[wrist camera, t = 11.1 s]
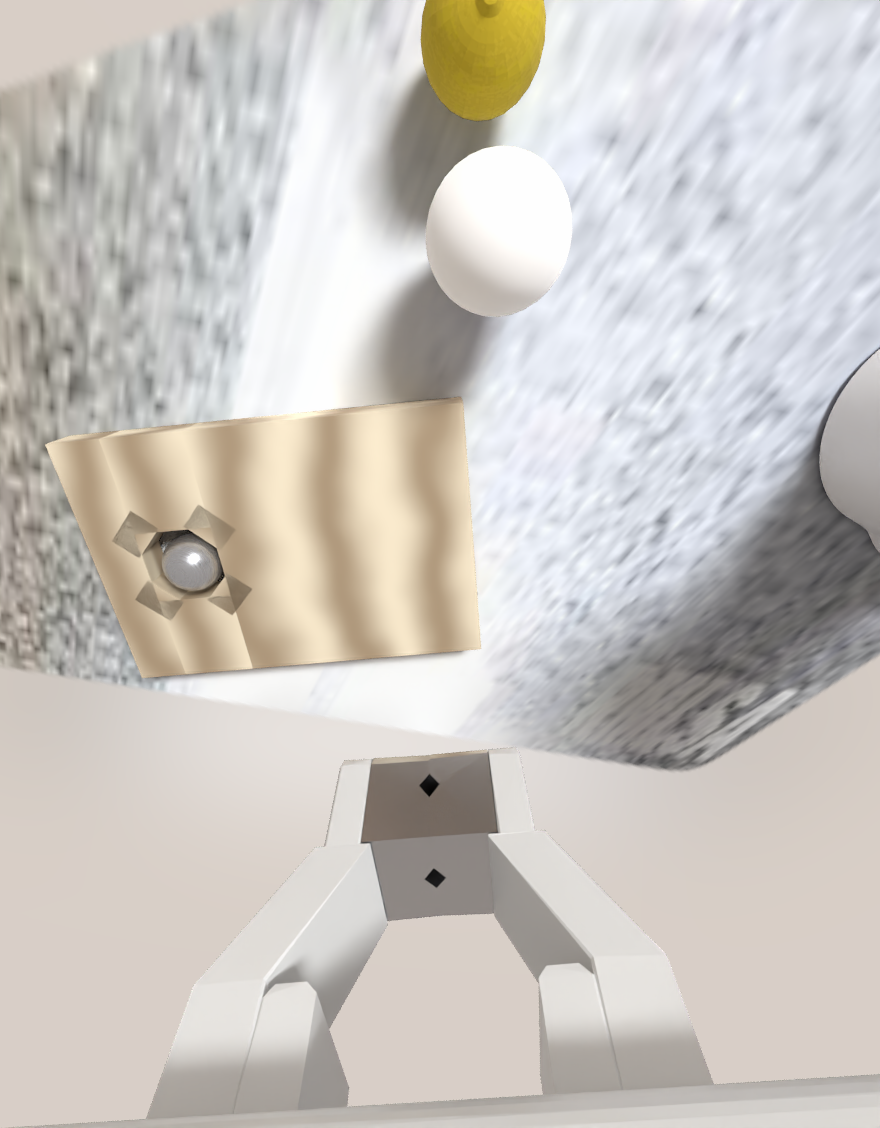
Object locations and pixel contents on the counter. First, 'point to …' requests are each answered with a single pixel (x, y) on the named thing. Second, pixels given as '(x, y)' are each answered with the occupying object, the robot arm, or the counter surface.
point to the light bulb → (498, 231)
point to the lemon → (482, 52)
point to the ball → (191, 563)
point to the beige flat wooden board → (284, 535)
